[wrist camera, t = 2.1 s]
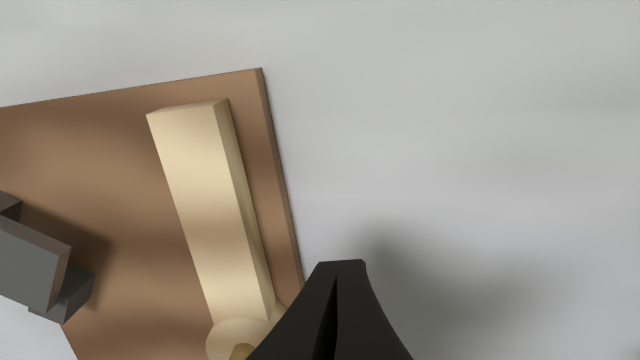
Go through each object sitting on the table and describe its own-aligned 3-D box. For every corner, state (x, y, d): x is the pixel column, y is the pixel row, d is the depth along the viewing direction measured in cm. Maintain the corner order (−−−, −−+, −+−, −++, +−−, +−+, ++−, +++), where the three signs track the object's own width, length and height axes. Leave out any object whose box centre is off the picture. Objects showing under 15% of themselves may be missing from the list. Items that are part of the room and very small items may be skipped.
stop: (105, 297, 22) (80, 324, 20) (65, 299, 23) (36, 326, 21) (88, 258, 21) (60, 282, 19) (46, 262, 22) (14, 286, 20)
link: (299, 349, 22) (287, 413, 18) (229, 352, 23) (204, 414, 19) (241, 95, 17) (208, 114, 13) (152, 108, 17) (96, 130, 14)
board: (319, 353, 24) (316, 369, 23) (97, 361, 26) (86, 376, 25) (261, 67, 17) (254, 69, 16) (-26, 111, 20) (-49, 116, 19)
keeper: (89, 274, 22) (45, 314, 19) (-18, 226, 21) (-82, 259, 18) (104, 221, 20) (58, 256, 17) (-12, 168, 20) (-80, 194, 16)
